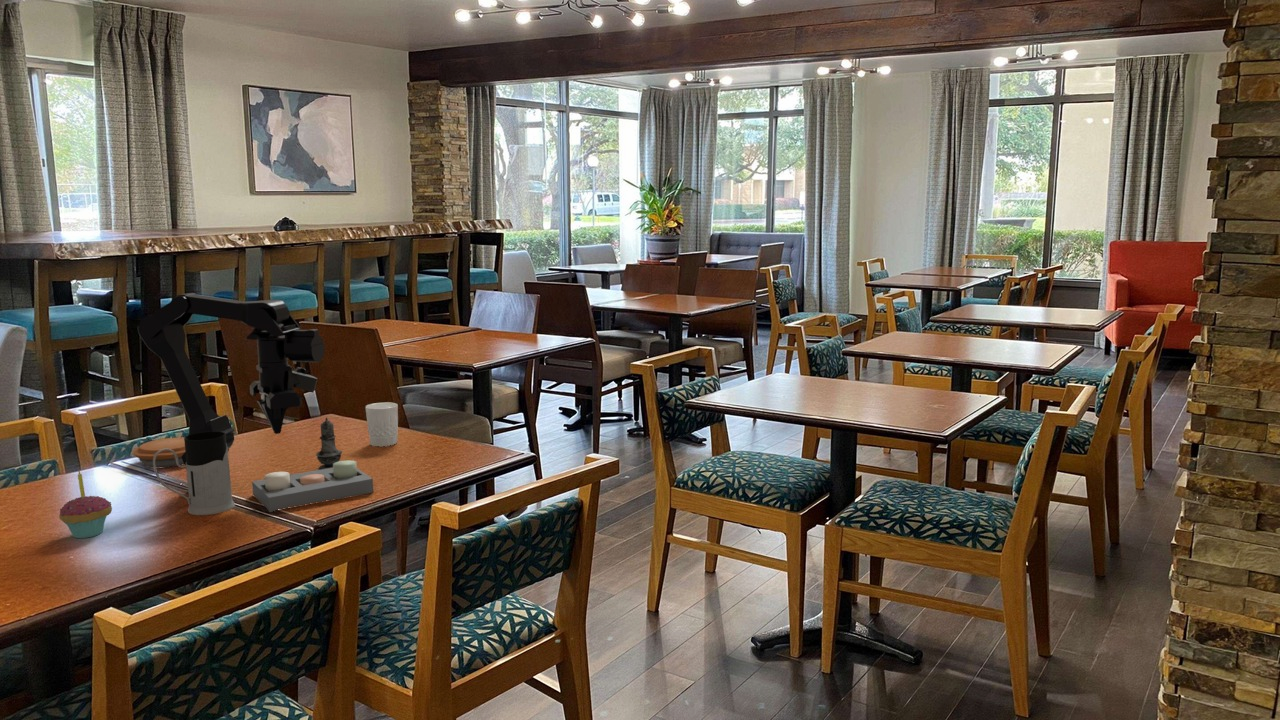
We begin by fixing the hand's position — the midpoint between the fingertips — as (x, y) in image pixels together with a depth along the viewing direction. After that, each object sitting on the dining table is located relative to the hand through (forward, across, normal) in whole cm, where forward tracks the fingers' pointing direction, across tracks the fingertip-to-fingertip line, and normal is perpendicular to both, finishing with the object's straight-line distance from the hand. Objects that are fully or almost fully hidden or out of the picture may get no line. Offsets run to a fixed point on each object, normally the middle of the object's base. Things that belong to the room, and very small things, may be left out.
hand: (277, 433), depth 196 cm
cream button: (+10, -7, +2) cm, 13 cm away
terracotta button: (+12, -7, -5) cm, 15 cm away
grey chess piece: (+13, +11, -14) cm, 22 cm away
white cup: (+13, +26, -32) cm, 43 cm away
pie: (+14, +41, +15) cm, 46 cm away
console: (+12, -7, -5) cm, 15 cm away
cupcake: (+13, -6, +36) cm, 39 cm away
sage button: (+10, -7, -12) cm, 17 cm away
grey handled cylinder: (+13, -4, +17) cm, 22 cm away
